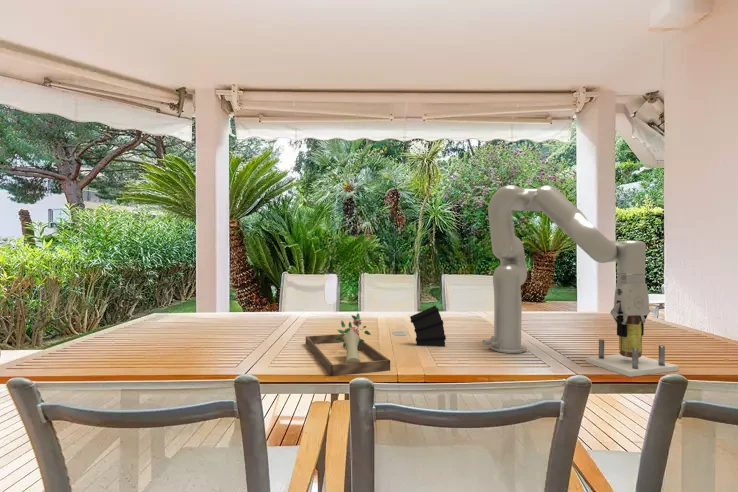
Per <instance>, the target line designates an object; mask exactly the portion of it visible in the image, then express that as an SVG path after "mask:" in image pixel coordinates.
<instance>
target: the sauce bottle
mask: <svg viewBox="0 0 738 492" xmlns="http://www.w3.org/2000/svg"><path fill="white" fill-rule="evenodd" d="M621 314H623V312H622V313H621ZM621 318H622V319H623V316H621ZM641 323H642V322H641V317H640V316H628V318H627V321H626V324H627V337H622V336H618V350H619V353H618V354H620V355H622V356H625V357H630V358H632V348H638V349H639V352H638V358H639V357H641V356H643V355H642V354H643V353H642V352H643V340H642V339H643V336H642V324H641Z"/></svg>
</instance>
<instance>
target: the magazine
mask: <svg viewBox="0 0 738 492" xmlns="http://www.w3.org/2000/svg"><path fill="white" fill-rule="evenodd" d="M409 318H410V323H411V324H412V325H413V327H414V333H415V336H416V337H415V343H416V346H423V347H424V346H427V347H428V346H431V347H445V346H446V340H447V337H446V334H445V328H444V320H443V319H442V316H441V314H440V310H439V307H437V305H436V304H435V305H433V306H431V307H429V308H426V309H424V310H422V311H420V312H417V313H415V314H412V315H411V316H409Z"/></svg>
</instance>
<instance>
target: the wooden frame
mask: <svg viewBox="0 0 738 492" xmlns="http://www.w3.org/2000/svg"><path fill="white" fill-rule="evenodd" d="M345 334H346V333H344V334H341V333H340V334H339V333H336V334H322V335H321V334H319V335H308V336H307V335H305V345H306V347H307V348H308V349H309V351H310V352H311V353H312V355H313V356H314V357H315V358H316V360H318V362H319V363H320V365H321V366H322V367H323V369H324V370H325V371H326V372H327V374H328V375H329V377H333V376H345V375H355V374H365V373H373V372H374V373H375V372H385V371H391V359H389V358H388V357H387V356H385V355H383V354H382V353H381V352H379V351H378V350H377V349H375V348H373V347H372V346H371V345H369V344H368V343H366V342H365V340H364V341H363V342H359V343H358V346H359V348H360V351H362V352H364V353H365V354H366V355H367V356H368V357H370V358H371V359H373V360H372V361H361V363H346V364H345V363H337V364H333V363H332V362H331V361H330V360H329V359H328V358H327V356H326V355H325V354H324V353H323V352H322V351H321V349H319V347H318V346H317V345H319V344H320V345H322V344H333V343H334V344H335V343H345V341H344V340H343V338H342V337H343V336H344V335H345ZM337 337H341V338H342V340H336V338H337Z"/></svg>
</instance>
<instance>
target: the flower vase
mask: <svg viewBox="0 0 738 492" xmlns="http://www.w3.org/2000/svg"><path fill="white" fill-rule="evenodd" d="M351 318H352V320H353V321H352V323H353V326H354V327H353V326H352V323H351V321H348V322H349V323H348V328H345V327H346V324H345V322H344V321H343V320H341V322H340V325H341V327H342V328H345V330H343V329H337V332H338V334H339V333H340V334H345V335H344V336H343V337H342V338H343V340H344V341H345V342H342V343H343V344H342V346H343V348H346V355H345V356H346V357H345V363H344V364H346V363H361V362H362V361H361V357H360V353H359V352H361V349H360V348H359V346H358V343H359V342H363V341H364V342H365V340H364V339H362V338H361V337H360V333H359V332H360V331H363V329H366V328H367V325H364V326H363V327H362V329H361V328H360V326H361V325H362V320H361V316H360V313H359V312H357V314H356V316H355V315H352V314H351ZM356 327H357V328H356ZM359 329H360V331H359ZM364 334H365V335H367V336H368V335H369V336H370V335H371V332H369V331H368V330H365V331H364ZM342 338H341V337H337V338H336V340H342Z"/></svg>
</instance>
